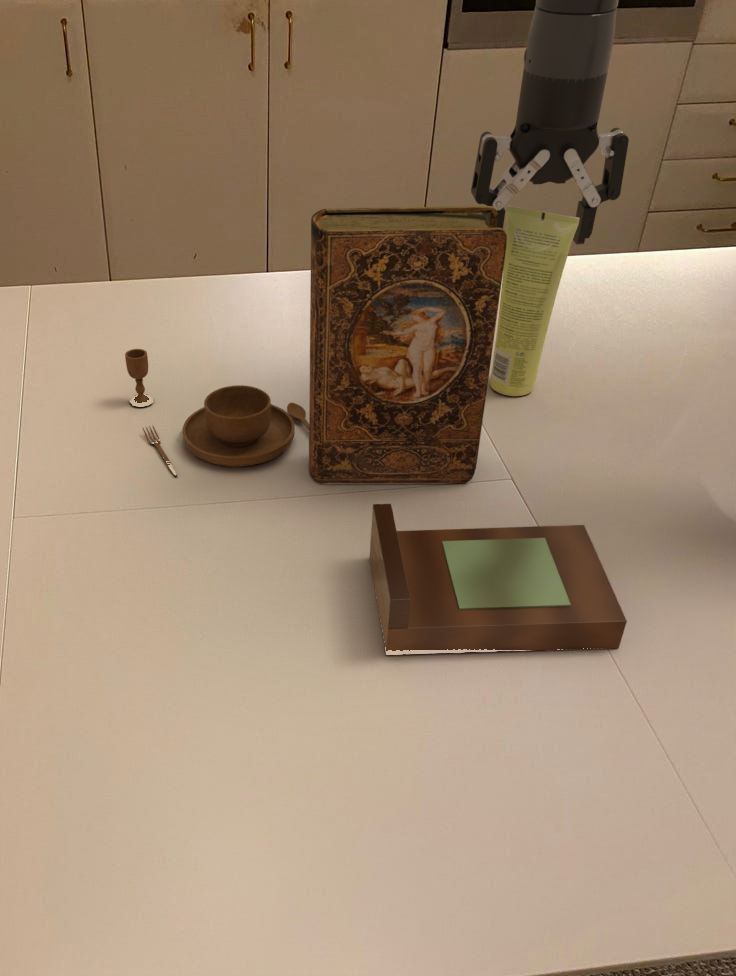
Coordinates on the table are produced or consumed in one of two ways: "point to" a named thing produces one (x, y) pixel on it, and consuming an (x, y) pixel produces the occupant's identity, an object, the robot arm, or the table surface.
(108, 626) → the table surface
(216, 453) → the place setting
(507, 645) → the brown wooden stand
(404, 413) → the book
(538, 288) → the tube
